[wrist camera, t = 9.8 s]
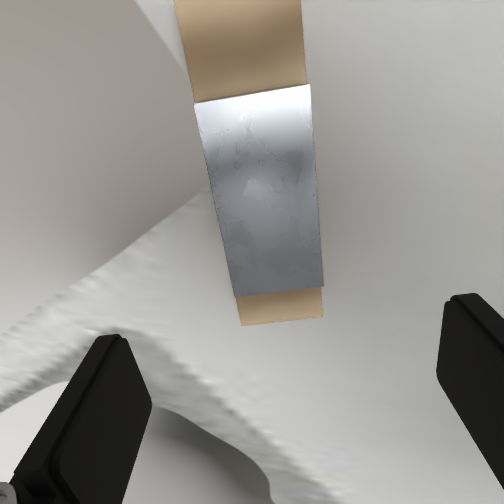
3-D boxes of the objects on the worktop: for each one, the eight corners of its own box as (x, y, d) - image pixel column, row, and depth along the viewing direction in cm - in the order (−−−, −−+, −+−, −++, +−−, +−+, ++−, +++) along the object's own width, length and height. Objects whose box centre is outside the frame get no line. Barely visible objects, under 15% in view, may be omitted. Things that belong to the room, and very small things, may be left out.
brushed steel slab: (309, 246, 30) (323, 286, 24) (238, 255, 30) (234, 297, 25) (296, 82, 24) (309, 84, 18) (207, 97, 25) (193, 104, 19)
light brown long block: (316, 293, 33) (322, 316, 30) (242, 303, 33) (241, 326, 30) (292, -12, 22) (298, -27, 19) (183, 8, 23) (173, -3, 19)
